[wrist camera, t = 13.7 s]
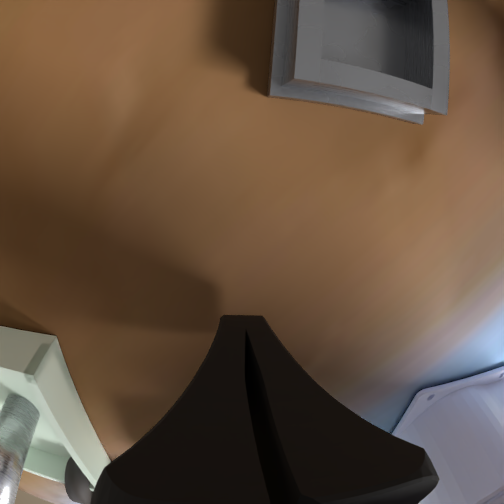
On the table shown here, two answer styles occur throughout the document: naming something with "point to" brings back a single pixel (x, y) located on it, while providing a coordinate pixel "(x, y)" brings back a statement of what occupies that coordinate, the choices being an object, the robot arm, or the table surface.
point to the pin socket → (363, 55)
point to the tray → (49, 406)
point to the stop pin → (15, 442)
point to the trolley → (77, 483)
